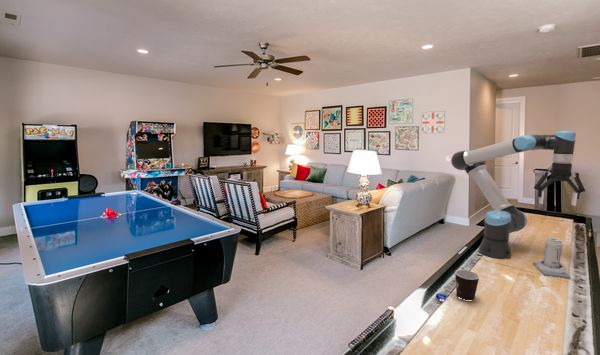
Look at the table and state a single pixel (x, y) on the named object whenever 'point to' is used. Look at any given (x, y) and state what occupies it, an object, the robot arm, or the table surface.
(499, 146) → the robot arm
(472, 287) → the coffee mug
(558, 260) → the energy drink can
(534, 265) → the slate plate
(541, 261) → the steel collar
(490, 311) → the table surface
